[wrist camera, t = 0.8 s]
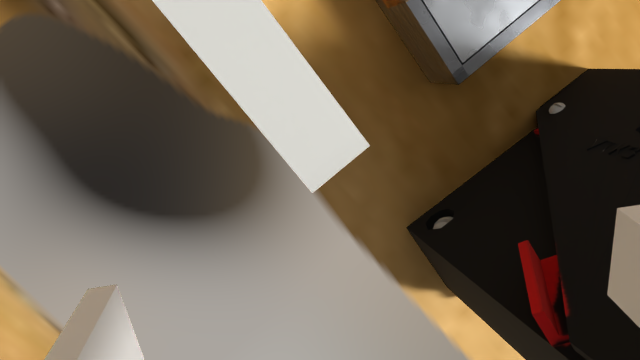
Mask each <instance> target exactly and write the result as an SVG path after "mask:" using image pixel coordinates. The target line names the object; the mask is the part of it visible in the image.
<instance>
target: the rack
mask: <svg viewBox="0 0 640 360" xmlns="http://www.w3.org/2000/svg"><path fill="white" fill-rule="evenodd" d="M559 1H560V0H376V2H377V3H378V5H379V6H380V8H381V9H382V11H383V12H384V14H385V15H386V17H387V18H388V20H389V21H390V23H391V24H392V26H393V27H394V29H395V30H396V32H397V33H398V35H399V36H400V38H401V39H402V41H403V42H404V44H405V45H406V47H407V48H408V50H409V51H410V53H411V54H412V56H413V57H414V59H415V60H416V62H417V63H418V65H419V66H420V68H421V69H422V71H423V72H424V74H425V75H426V77H427V78H428V80H429V81H430V82H431V83H444V84H457V85H459V84H460V83H461V82H463V81H464V80H465V79H466V78H467V77H469V76H470V75H471V74H472V73H473V72H475V71H476V70H477V69H478V68H480V67H481V66H482V65H483V64H484V63H486V62H487V61H488V60H489V59H490V58H492V57H493V56H494V55H495V54H496V53H498V52H499V51H500V50H501V49H502V48H504V47H505V46H506V45H507V44H508V43H510V42H511V41H512V40H513V39H514V38H516V37H517V36H518V35H519V34H521V33H522V32H523V31H524V30H525V29H527V28H528V27H529V26H530V25H531V24H533V23H534V22H535V21H536V20H537V19H539V18H540V17H541V16H542V15H543V14H545V13H546V12H547V11H548V10H549V9H551V8H552V7H553V6H554V5H556V4H557V3H558V2H559Z"/></svg>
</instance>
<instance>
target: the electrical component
mask: <svg viewBox="0 0 640 360" xmlns="http://www.w3.org/2000/svg"><path fill="white" fill-rule="evenodd" d="M536 115H537V122H538V127H537V128H536V129H534V130H533V131H532V132H530V133H529V134H528V135H527V136H525V137H524V138H523V139H521V140H520V141H519V142H517V143H516V144H515V145H514V146H512V147H511V148H510V149H508V150H507V151H506V152H504V153H503V154H502V155H500V156H499V157H498V158H497V159H495V160H494V161H493V162H491V163H490V164H489V165H487V166H486V167H485V168H484V169H482V170H481V171H480V172H478V173H477V174H476V175H474V176H473V177H472V178H470V179H469V180H468V181H467V182H465V183H464V184H463V185H461V186H460V187H459V188H457V189H456V190H455V191H453V192H452V193H451V194H450V195H448V196H447V197H446V198H444V199H443V200H442V201H440V202H439V203H438V204H437V205H435V206H434V207H433V208H431V209H430V210H429V211H427V212H426V213H425V214H423V215H422V216H421V217H420V218H418V219H417V220H416V221H414V222H413V223H412V224H410V225H409V226H408V227H407V229H408V231H409V232H410V234H411V235H412V237H413V238H414V240H415V241H416V243H417V244H418V245H419V247H420V248H421V250H422V251H423V253H424V254H425V256H426V257H427V258H428V260H429V261H430V263H431V264H432V266H433V267H434V269H435V270H436V272H437V273H438V274H439V276H440V277H441V279H442V280H443V282H444V283H445V285H446V286H447V287H448V288H449V289H450V290H451V291H452V292H453V293H454V294H455V295H456V296H457V297H458V298H460V299H461V300H462V301H463V302H464V303H465V304H466V305H467V306H468V307H469V308H470V309H472V310H473V311H474V312H475V313H476V314H477V315H478V316H479V317H480V318H481V319H482V320H483V321H485V322H486V323H487V324H488V325H489V326H490V327H491V328H492V329H493V330H494V331H495V332H496V333H498V334H499V335H500V336H501V337H502V338H503V339H504V340H505V341H506V342H507V343H508V344H509V345H511V346H512V347H513V348H514V349H515V350H516V351H517V352H518V353H519V354H520V355H521V356H523V357H524V358H525V359H526V360H640V328H639V327H638V326H637V325H636V324H635V323H634V322H633V321H632V319H631V318H630V317H629V316H628V315H627V314H626V313H625V312H624V311H623V310H622V309H621V308H620V307H619V306H618V305H617V304H616V303H615V302H614V301H613V300H612V299H611V298H610V297H609V296H608V295H607V292H608V284H609V275H610V266H611V258H612V249H613V240H614V231H615V223H616V214H617V208H622V207H629V206H635V205H640V69H588V70H587V71H585V72H584V73H583V74H582V75H580V76H579V77H578V78H576V79H575V80H574V81H573V82H571V83H570V84H569V85H567V86H566V87H565V88H564V89H562V90H561V91H560V92H559V93H557V94H556V95H555V96H553V97H552V98H551V99H550V100H548V101H547V102H546V103H545V104H543V105H542V106H541V107H540V108H539V109H538V110H537V111H536Z"/></svg>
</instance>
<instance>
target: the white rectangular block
mask: <svg viewBox="0 0 640 360" xmlns="http://www.w3.org/2000/svg"><path fill="white" fill-rule="evenodd" d="M152 1H153V2H154V3H155V4H156V6H157V7H158V8H159V9H160V10H161V12H162V13H163V14H164V15H165V16H166V18H167V19H168V20H169V21H170V23H171V24H172V25H173V26H174V27H175V29H176V30H177V31H178V32H179V33H180V35H181V36H182V37H183V38H184V39H185V41H186V42H187V43H188V44H189V45H190V47H191V48H192V49H193V50H194V51H195V53H196V54H197V55H198V56H199V58H200V59H201V60H202V61H203V62H204V64H205V65H206V66H207V67H208V68H209V70H210V71H211V72H212V73H213V74H214V76H215V77H216V78H217V79H218V80H219V82H220V83H221V84H222V85H223V87H224V88H225V89H226V90H227V91H228V93H229V94H230V95H231V96H232V97H233V99H234V100H235V101H236V102H237V103H238V105H239V106H240V107H241V108H242V109H243V111H244V112H245V113H246V114H247V115H248V117H249V118H250V119H251V120H252V122H253V123H254V124H255V125H256V126H257V128H258V129H259V130H260V131H261V132H262V134H263V135H264V136H265V137H266V138H267V140H268V141H269V142H270V143H271V144H272V146H273V147H274V148H275V149H276V150H277V152H278V153H279V154H280V155H281V157H282V158H283V159H284V160H285V161H286V163H287V164H288V165H289V166H290V167H291V168H292V170H293V171H294V172H295V173H296V175H297V176H298V177H299V178H300V179H301V181H302V182H303V183H304V184H305V185H306V187H307V188H308V189H309V190H310V192H311V193H313V192H315V191H316V190H317V189H318V188H319V187H321V186H322V185H323V184H324V183H326V182H327V181H328V180H329V179H330V178H332V177H333V176H334V175H335V174H336V173H338V172H339V171H340V170H341V169H342V168H344V167H345V166H346V165H347V164H348V163H350V162H351V161H352V160H353V159H354V158H356V157H357V156H358V155H359V154H361V153H362V152H363V151H364V150H365V149H367V148H368V147H369V146H370V145H369V144H368V142H367V141H366V140H365V138H364V137H363V136H362V134H361V133H360V132H359V130H358V129H357V128H356V126H355V125H354V124H353V122H352V121H351V120H350V118H349V117H348V116H347V114H346V113H345V112H344V110H343V109H342V108H341V106H340V105H339V104H338V102H337V101H336V100H335V98H334V97H333V96H332V94H331V93H330V92H329V90H328V89H327V88H326V86H325V85H324V84H323V82H322V81H321V80H320V78H319V77H318V76H317V74H316V73H315V72H314V70H313V69H312V68H311V66H310V65H309V63H308V62H307V61H306V59H305V58H304V57H303V55H302V54H301V53H300V51H299V50H298V49H297V47H296V46H295V45H294V43H293V42H292V41H291V39H290V38H289V37H288V35H287V34H286V33H285V31H284V30H283V29H282V27H281V26H280V25H279V23H278V22H277V21H276V19H275V18H274V17H273V15H272V14H271V13H270V11H269V10H268V9H267V7H266V6H265V5H264V3H263V2H262V1H261V0H152Z"/></svg>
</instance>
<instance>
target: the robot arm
mask: <svg viewBox="0 0 640 360" xmlns="http://www.w3.org/2000/svg"><path fill="white" fill-rule="evenodd" d="M607 295H608V296H609V297H610V298H611V299H612V300H613V301H614V302H615V303H616V304H617V305H618V306H619V307H620V308H621V309H622V310H623V311H624V312H625V313H626V314H627V315H628V316H629V317H630V318H631V319H632V321H633V322H634V323H635V324H636V325H637V326H638V327H639V328H640V205H635V206H629V207H622V208H617V214H616V223H615V231H614V240H613V249H612V258H611V266H610V275H609V284H608V292H607ZM44 360H144V357H143V354H142V351H141V349H140V346H139V343H138V341H137V338H136V335H135V332H134V329H133V327H132V324H131V321H130V319H129V316H128V313H127V310H126V308H125V305H124V302H123V299H122V296H121V294H120V291H119V288H118V285H111V286H104V287H97V288H91V289H88V290H87V291H86V293H85V295H84V297H83V298H82V299H81V301H80V303H79V304H78V306H77V307H76V309H75V311H74V312H73V314H72V316H71V317H70V319H69V320H68V322H67V324H66V325H65V327H64V328H63V330H62V332H61V333H60V335H59V337H58V338H57V340H56V341H55V343H54V345H53V346H52V348H51V350H50V351H49V353H48V354H47V356H46V358H45V359H44Z"/></svg>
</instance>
